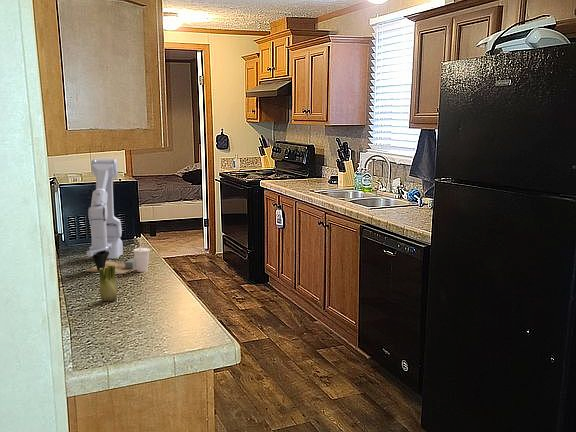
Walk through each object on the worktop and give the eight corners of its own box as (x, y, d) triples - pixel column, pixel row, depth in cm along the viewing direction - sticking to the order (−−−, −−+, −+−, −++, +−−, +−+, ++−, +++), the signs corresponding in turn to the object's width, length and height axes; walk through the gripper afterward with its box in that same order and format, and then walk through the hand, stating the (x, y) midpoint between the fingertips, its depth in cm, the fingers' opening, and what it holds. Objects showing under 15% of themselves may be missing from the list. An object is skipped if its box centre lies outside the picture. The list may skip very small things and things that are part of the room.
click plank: (103, 275, 210) (103, 272, 210) (85, 273, 212) (85, 270, 212) (125, 265, 226) (124, 262, 225) (107, 263, 227) (107, 260, 227)
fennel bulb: (100, 303, 178) (99, 268, 176) (99, 299, 182) (97, 264, 180) (119, 301, 180) (117, 266, 178) (116, 297, 185) (115, 263, 183)
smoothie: (130, 274, 212) (129, 239, 210) (140, 270, 218) (139, 236, 215) (144, 276, 210) (142, 241, 207) (154, 272, 215) (153, 237, 213)
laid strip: (125, 265, 226) (125, 262, 225) (143, 266, 224) (143, 263, 224) (104, 275, 210) (104, 272, 210) (123, 277, 208) (123, 273, 208)
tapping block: (131, 264, 223) (131, 258, 222) (138, 264, 223) (138, 258, 222) (125, 268, 216) (125, 262, 216) (132, 268, 216) (132, 262, 215)
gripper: (100, 232, 218) (101, 264, 220) (78, 239, 204) (80, 274, 206) (116, 233, 216) (117, 265, 219) (95, 240, 203) (97, 275, 205)
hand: (100, 270), depth 213 cm, fingers closed
